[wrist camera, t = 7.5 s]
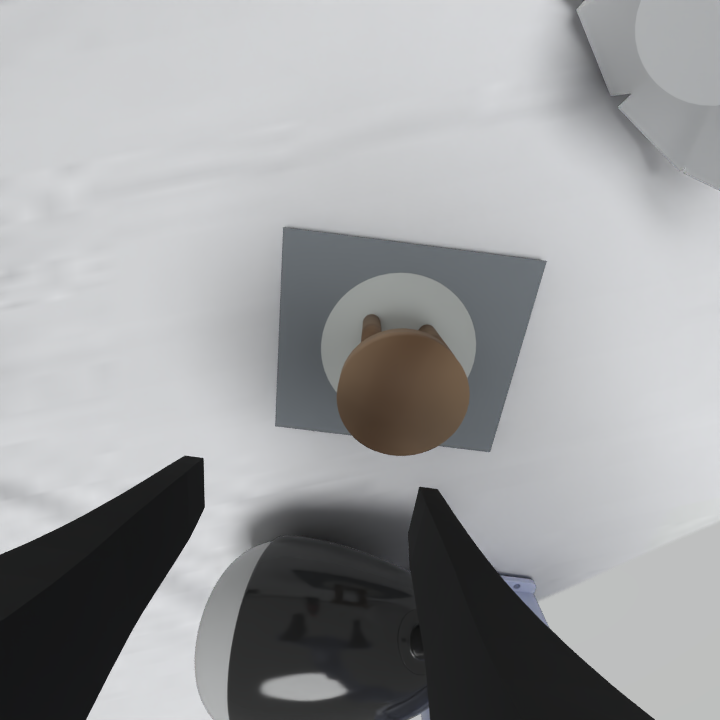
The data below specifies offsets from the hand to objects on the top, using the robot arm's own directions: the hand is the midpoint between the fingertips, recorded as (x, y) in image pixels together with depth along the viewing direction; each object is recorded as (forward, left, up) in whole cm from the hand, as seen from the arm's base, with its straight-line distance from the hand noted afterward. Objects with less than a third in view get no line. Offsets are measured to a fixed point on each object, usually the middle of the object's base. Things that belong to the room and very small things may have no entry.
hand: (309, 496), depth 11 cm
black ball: (+6, +16, -6) cm, 18 cm away
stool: (-3, -2, -10) cm, 10 cm away
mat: (-3, -2, -10) cm, 11 cm away
